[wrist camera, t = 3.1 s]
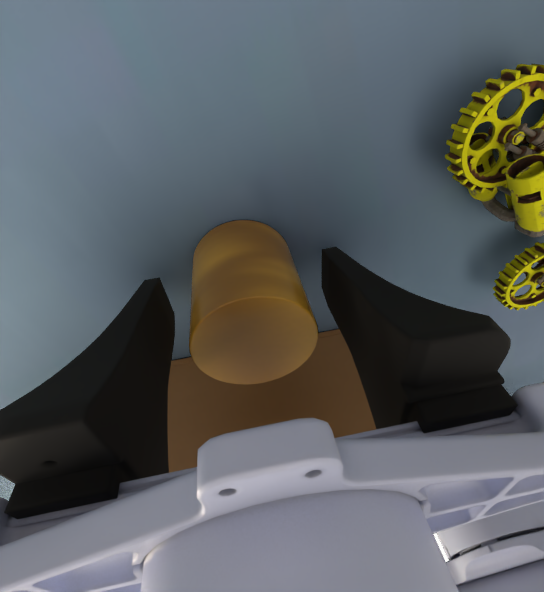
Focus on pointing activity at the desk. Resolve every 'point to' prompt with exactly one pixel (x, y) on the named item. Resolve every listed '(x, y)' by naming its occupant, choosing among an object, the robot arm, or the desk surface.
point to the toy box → (265, 400)
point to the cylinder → (248, 306)
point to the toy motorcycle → (507, 172)
